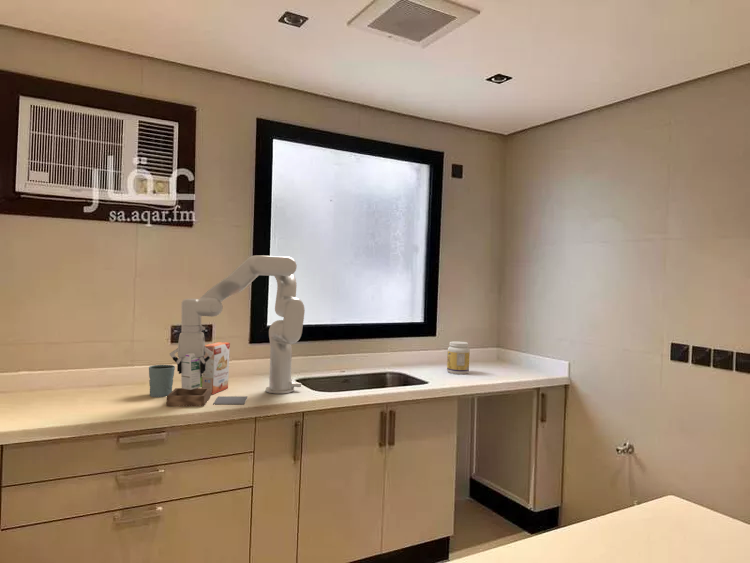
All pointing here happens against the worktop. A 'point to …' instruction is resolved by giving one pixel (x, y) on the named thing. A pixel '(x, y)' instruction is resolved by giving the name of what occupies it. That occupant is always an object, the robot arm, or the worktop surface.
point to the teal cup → (161, 380)
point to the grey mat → (230, 400)
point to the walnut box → (188, 397)
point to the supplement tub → (458, 357)
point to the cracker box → (217, 367)
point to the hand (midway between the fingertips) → (191, 372)
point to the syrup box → (191, 372)
